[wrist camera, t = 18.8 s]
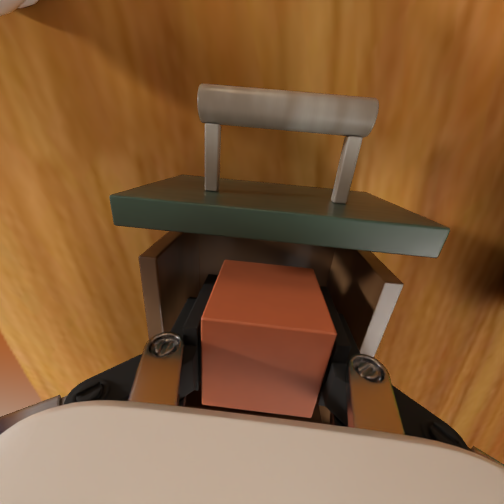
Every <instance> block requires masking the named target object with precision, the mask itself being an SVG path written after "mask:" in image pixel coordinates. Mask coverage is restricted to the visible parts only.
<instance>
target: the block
mask: <svg viewBox="0 0 504 504" xmlns="http://www.w3.org/2000/svg"><path fill="white" fill-rule="evenodd" d="M336 336H337V332H336V330H335V327H334V324H333V321H332V319H331V316H330V313H329V311H328V308H327V305H326V302H325V300H324V297H323V294H322V291H321V289H320V286H319V283H318V280H317V278H316V275H315V272H314V269H311V268H302V267H292V266H283V265H273V264H264V263H254V262H244V261H235V260H224V262H223V265H222V267H221V270H220V272H219V275H218V277H217V280H216V282H215V285H214V287H213V290H212V292H211V295H210V297H209V300H208V302H207V305H206V307H205V310H204V312H203V315H202V317H201V380H202V404H203V405H209V406H217V407H226V408H234V409H242V410H250V411H258V412H266V413H275V414H283V415H291V416H299V417H307V418H311V417H312V414H313V410H314V407H315V404H316V401H317V397H318V394H319V391H320V388H321V384H322V381H323V378H324V375H325V371H326V368H327V365H328V362H329V358H330V355H331V352H332V349H333V345H334V342H335V339H336Z"/></svg>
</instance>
